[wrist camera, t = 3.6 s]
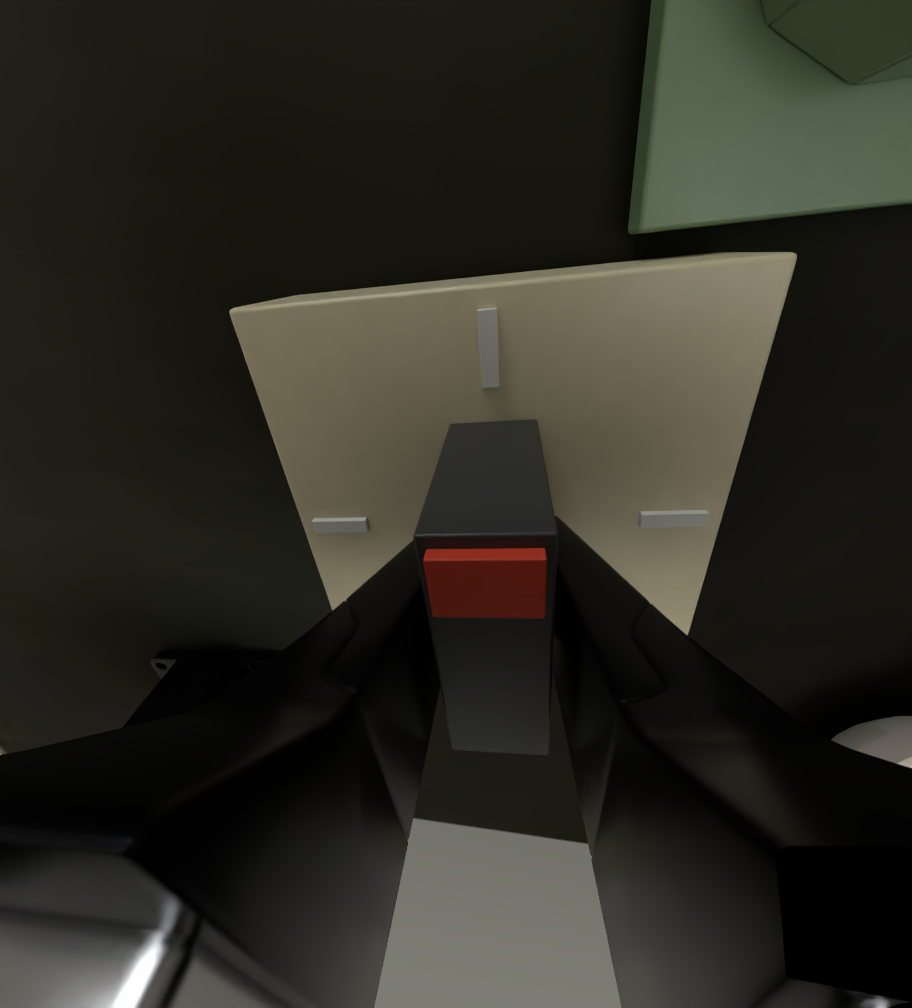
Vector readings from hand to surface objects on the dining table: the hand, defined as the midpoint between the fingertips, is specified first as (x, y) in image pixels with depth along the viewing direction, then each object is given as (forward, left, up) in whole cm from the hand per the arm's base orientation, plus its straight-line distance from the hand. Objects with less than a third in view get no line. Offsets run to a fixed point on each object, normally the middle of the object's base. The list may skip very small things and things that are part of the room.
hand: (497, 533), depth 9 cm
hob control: (0, 0, -4) cm, 4 cm away
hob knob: (0, 0, 0) cm, 0 cm away
